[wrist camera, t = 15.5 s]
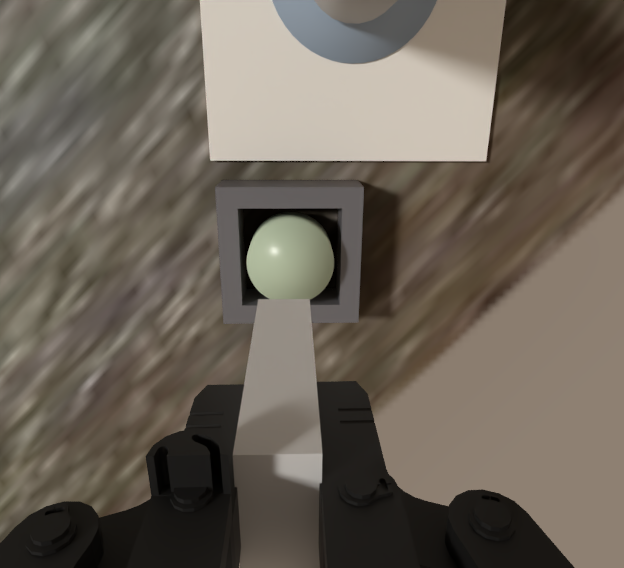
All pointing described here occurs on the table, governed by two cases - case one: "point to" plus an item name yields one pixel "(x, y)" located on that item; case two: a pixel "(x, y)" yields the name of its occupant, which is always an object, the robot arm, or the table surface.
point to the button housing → (285, 195)
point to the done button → (290, 257)
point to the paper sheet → (350, 81)
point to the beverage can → (354, 9)
